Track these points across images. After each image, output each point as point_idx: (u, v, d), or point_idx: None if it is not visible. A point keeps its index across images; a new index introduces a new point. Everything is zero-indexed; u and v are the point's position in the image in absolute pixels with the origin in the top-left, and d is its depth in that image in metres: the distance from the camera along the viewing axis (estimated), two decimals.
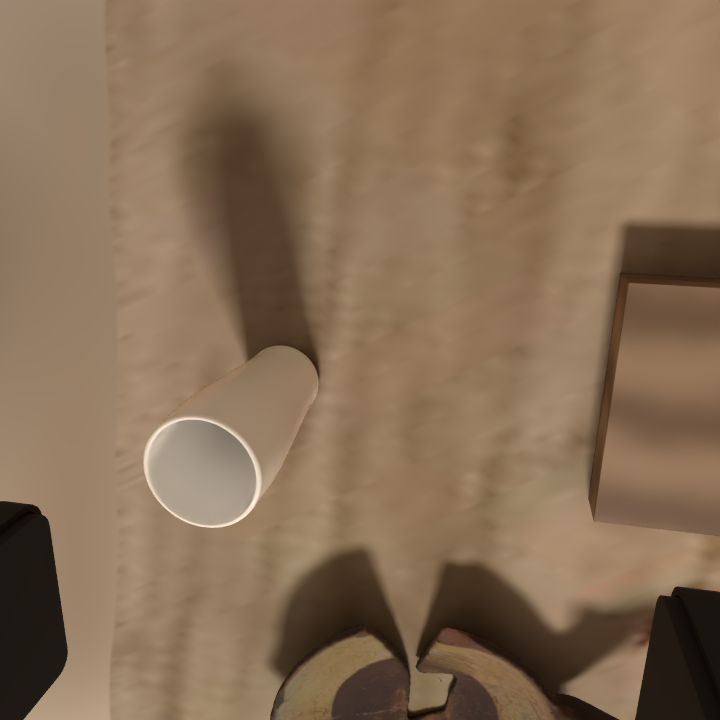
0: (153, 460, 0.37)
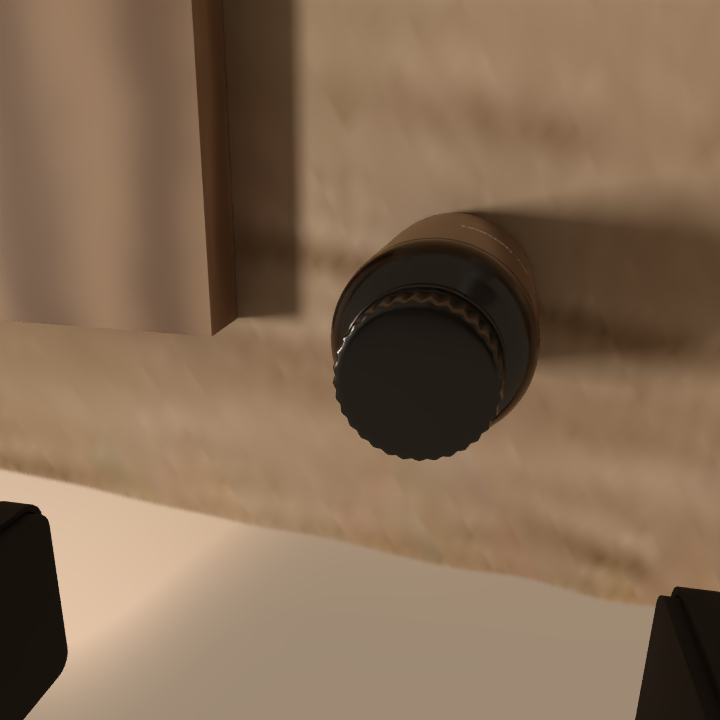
0: None
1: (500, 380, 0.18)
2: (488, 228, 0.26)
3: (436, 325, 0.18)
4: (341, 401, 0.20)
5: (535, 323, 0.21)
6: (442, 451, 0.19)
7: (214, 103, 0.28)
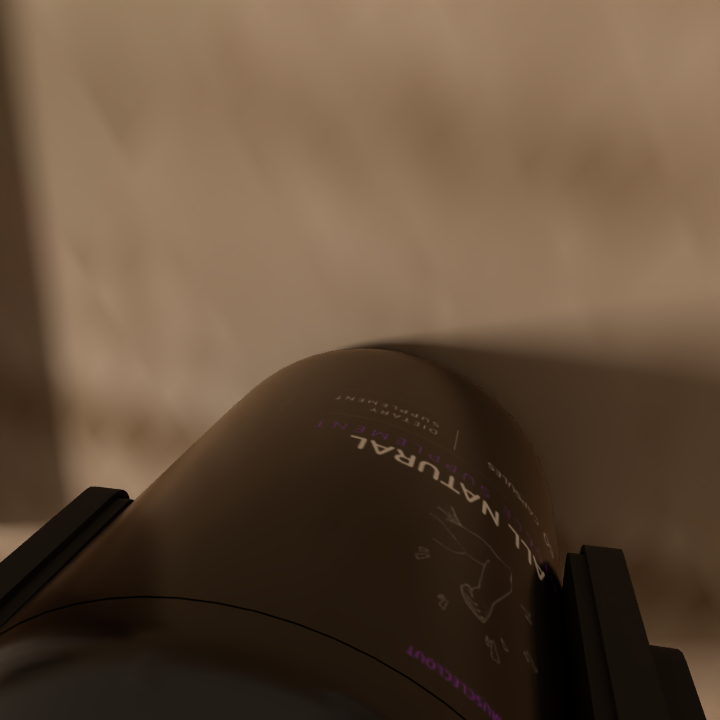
0: None
1: None
2: (438, 423, 0.10)
3: None
4: None
5: None
6: None
7: None
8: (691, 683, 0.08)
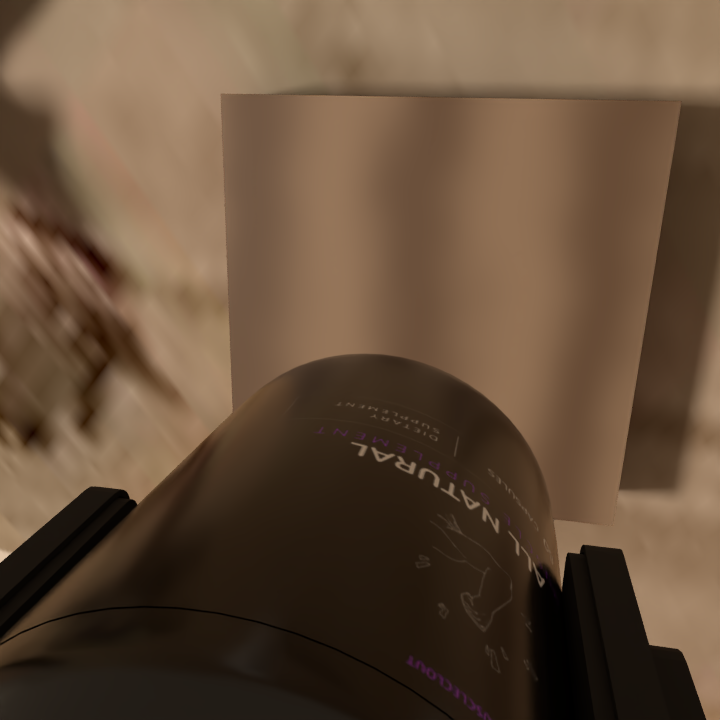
0: None
1: None
2: (438, 429, 0.10)
3: None
4: None
5: None
6: None
7: None
8: (691, 683, 0.08)
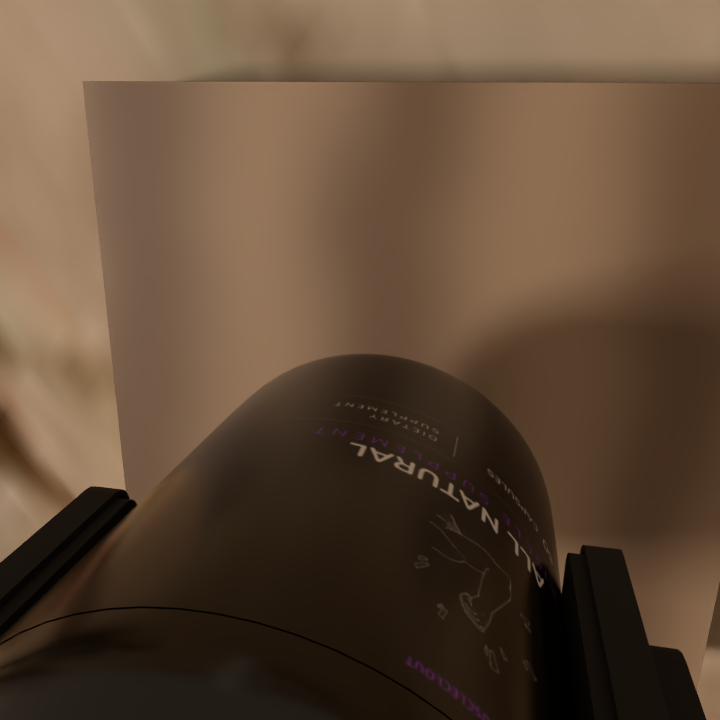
0: None
1: None
2: (437, 429, 0.10)
3: None
4: None
5: None
6: None
7: None
8: (691, 683, 0.08)
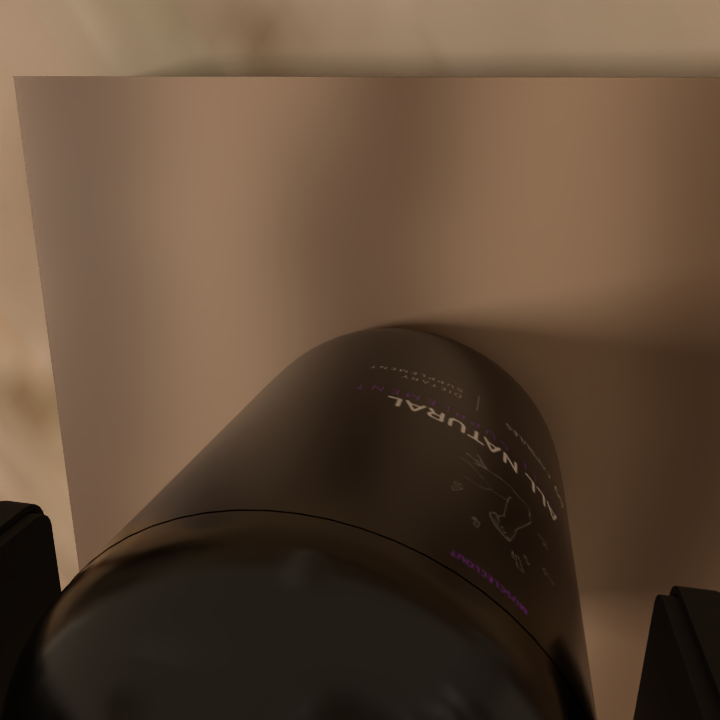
0: None
1: None
2: (461, 389, 0.11)
3: None
4: None
5: None
6: None
7: None
8: None
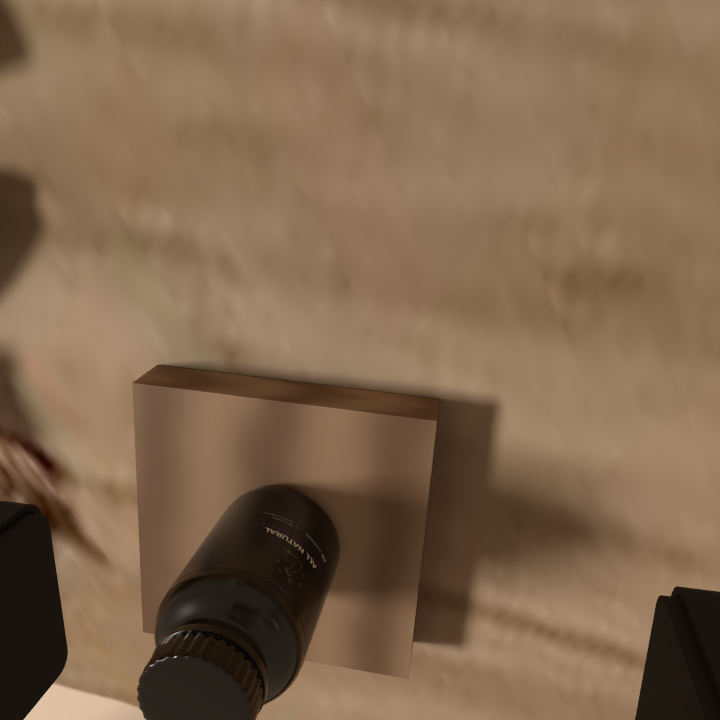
0: None
1: (250, 711, 0.26)
2: (293, 521, 0.34)
3: (205, 673, 0.26)
4: (143, 711, 0.27)
5: (299, 637, 0.29)
6: None
7: (426, 519, 0.38)
8: None
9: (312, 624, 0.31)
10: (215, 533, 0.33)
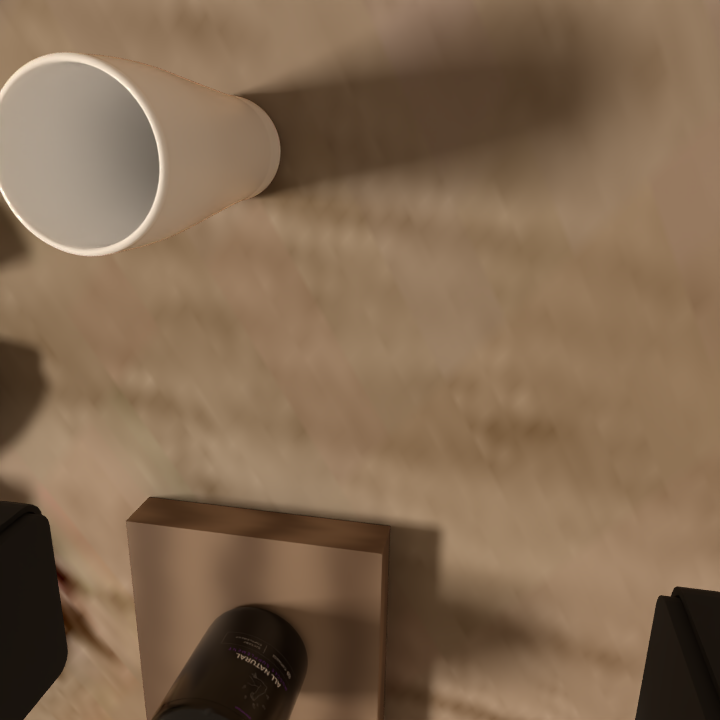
0: None
1: None
2: (261, 644, 0.39)
3: None
4: None
5: None
6: None
7: (383, 629, 0.43)
8: None
9: None
10: (195, 657, 0.39)
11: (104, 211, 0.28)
